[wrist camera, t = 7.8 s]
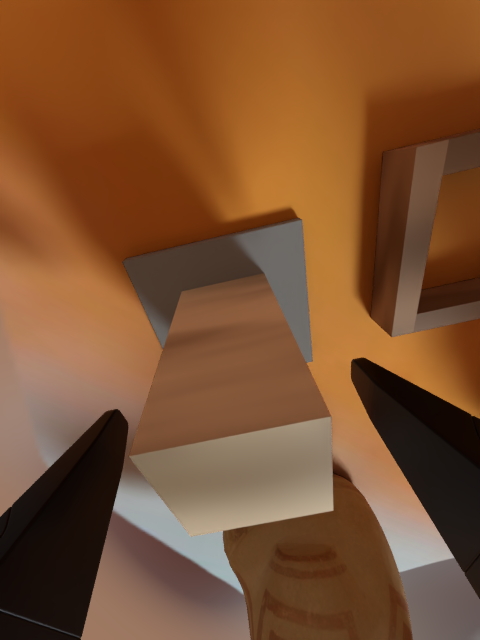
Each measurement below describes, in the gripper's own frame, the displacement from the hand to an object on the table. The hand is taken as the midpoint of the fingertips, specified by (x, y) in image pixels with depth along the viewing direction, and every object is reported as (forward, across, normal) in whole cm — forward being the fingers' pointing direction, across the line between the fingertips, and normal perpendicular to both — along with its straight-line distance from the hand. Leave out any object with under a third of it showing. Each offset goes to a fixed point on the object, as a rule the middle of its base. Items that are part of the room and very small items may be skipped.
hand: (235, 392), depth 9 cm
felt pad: (+6, 0, 0) cm, 6 cm away
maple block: (+6, 0, 0) cm, 6 cm away
